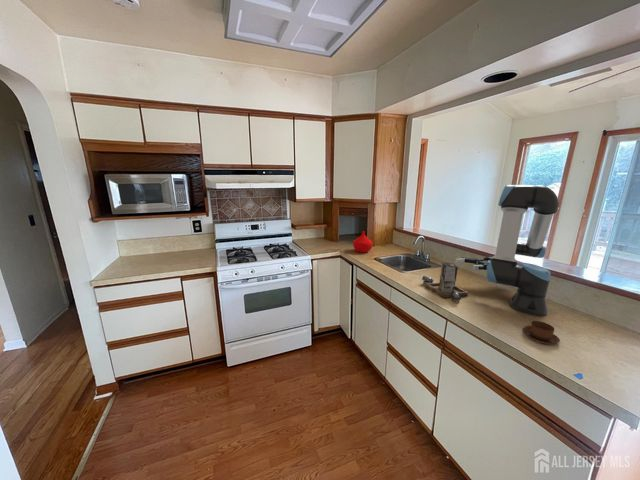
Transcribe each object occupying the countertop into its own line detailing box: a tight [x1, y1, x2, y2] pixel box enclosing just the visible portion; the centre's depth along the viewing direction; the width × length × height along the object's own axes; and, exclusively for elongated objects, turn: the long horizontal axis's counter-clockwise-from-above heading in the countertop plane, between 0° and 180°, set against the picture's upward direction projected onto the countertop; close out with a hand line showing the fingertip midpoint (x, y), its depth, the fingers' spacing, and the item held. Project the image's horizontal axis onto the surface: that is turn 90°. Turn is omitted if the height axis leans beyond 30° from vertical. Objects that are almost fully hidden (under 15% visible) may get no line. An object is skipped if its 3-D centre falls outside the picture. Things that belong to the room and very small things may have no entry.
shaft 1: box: [421, 275, 434, 286], centre depth 160 cm, size 6×3×5 cm, turn 35°
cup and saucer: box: [522, 320, 561, 346], centre depth 106 cm, size 12×12×6 cm
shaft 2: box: [450, 291, 462, 304], centre depth 138 cm, size 6×3×5 cm, turn 174°
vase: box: [352, 230, 374, 254], centre depth 234 cm, size 18×18×19 cm
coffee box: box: [438, 262, 459, 293], centre depth 149 cm, size 9×6×16 cm
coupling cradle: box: [425, 282, 469, 300], centre depth 151 cm, size 16×16×2 cm
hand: (464, 264), depth 153 cm, fingers open, 13 cm apart
